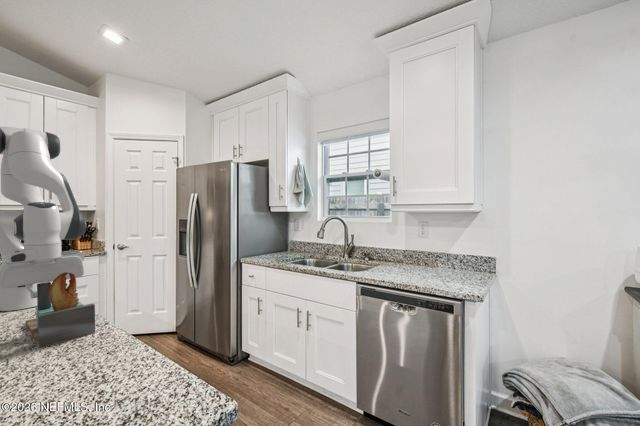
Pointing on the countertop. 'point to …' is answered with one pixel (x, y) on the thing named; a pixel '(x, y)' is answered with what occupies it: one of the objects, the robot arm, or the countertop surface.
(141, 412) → the countertop surface
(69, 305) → the crab claw
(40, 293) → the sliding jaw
